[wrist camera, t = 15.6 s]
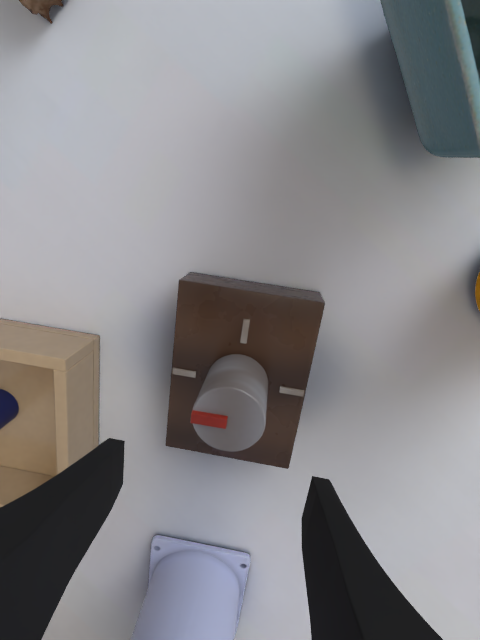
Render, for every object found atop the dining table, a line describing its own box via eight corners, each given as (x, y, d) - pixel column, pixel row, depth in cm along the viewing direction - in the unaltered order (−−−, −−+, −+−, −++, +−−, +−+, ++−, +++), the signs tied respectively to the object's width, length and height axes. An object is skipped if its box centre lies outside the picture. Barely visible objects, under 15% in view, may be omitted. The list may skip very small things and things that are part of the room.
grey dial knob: (272, 358, 20) (270, 397, 16) (263, 413, 21) (259, 462, 17) (210, 349, 20) (192, 384, 16) (204, 403, 21) (186, 449, 17)
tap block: (287, 443, 24) (288, 471, 22) (176, 423, 25) (164, 447, 22) (320, 292, 21) (325, 303, 18) (190, 271, 21) (178, 280, 19)
